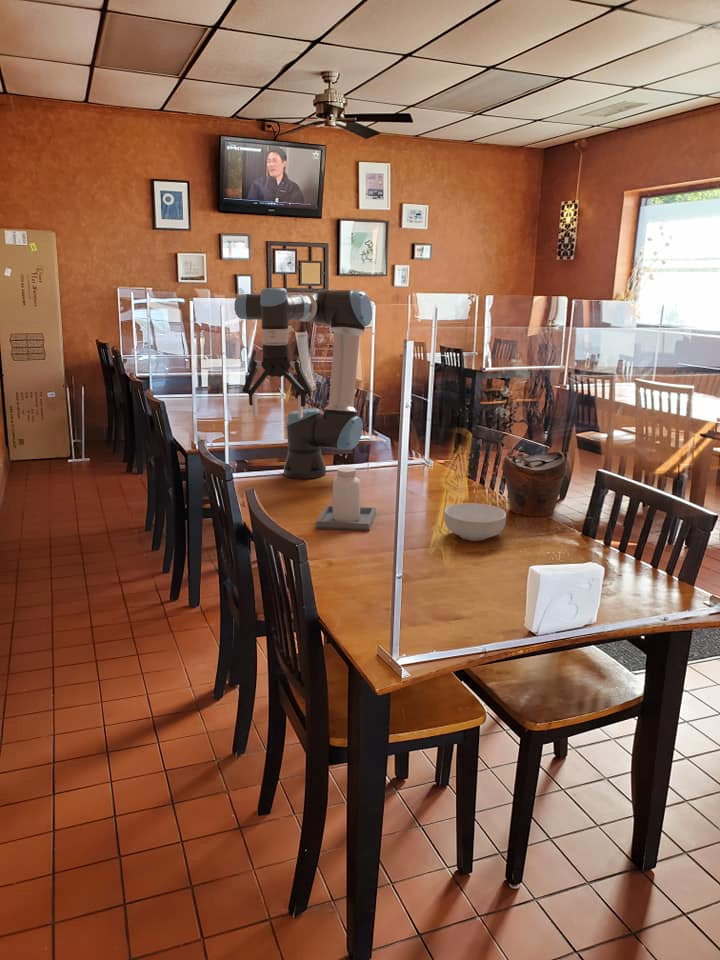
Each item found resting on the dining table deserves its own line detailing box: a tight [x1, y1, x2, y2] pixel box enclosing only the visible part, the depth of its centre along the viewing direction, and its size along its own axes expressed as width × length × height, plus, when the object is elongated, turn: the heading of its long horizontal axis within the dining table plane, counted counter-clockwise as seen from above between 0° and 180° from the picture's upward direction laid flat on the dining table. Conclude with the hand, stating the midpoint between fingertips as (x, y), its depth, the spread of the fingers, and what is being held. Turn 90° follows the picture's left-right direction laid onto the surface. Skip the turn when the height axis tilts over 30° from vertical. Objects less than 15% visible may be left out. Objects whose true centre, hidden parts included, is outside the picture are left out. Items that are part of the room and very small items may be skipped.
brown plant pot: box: [501, 451, 567, 517], centre depth 219 cm, size 18×20×18 cm
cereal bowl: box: [443, 502, 507, 542], centre depth 199 cm, size 17×17×7 cm
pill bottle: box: [332, 466, 361, 522], centre depth 210 cm, size 8×8×15 cm
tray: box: [315, 504, 377, 532], centre depth 212 cm, size 15×15×2 cm
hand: (278, 417), depth 215 cm, fingers open, 13 cm apart
